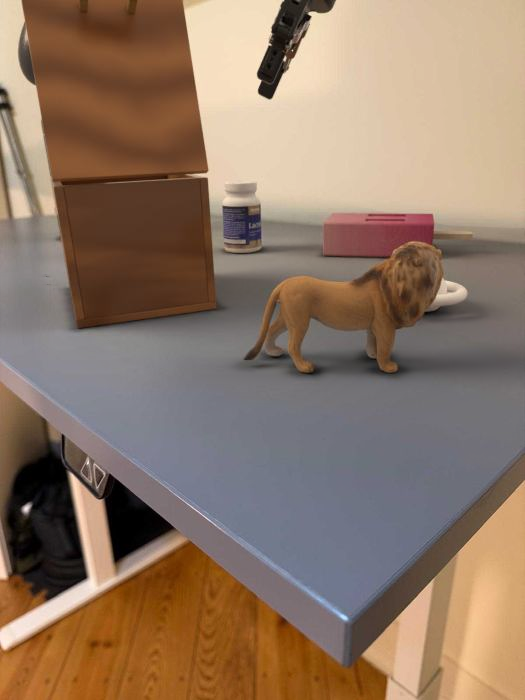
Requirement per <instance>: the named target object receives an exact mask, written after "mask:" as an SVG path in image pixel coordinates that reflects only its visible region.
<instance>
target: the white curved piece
mask: <svg viewBox="0 0 525 700" xmlns="http://www.w3.org/2000/svg"><path fill="white" fill-rule="evenodd" d="M467 297H468V290H467V289H466V287H465V286H463V285H461V284H459V283H457V282H454V281H449V280H446V279H444V276H443V277H442V281H441V285H440V289H439V291H438V293H437V296H436V299H435V300H434V302H433V303H432V304H431V305H430V306H429V308H428V309H426V310H425V312H424V313H429V312H433V311H436V310H438V309H439V308H440V307H446V306H452V305H456V304H459V303H462V302H463V301H465V300H466V299H467Z"/></svg>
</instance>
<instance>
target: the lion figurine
mask: <svg viewBox="0 0 525 700" xmlns="http://www.w3.org/2000/svg"><path fill="white" fill-rule="evenodd" d="M442 254H443V253H442V250H441V249H439V248H438V249H437V248H436V247H435V246H434V245H433V244H432V245H429V244H426V243H423V242H416V241H411V242H408V243H407V244H404V245H402V246H400V247H399V248H398V249H395V250H394V251H393V253H392V255H391V258H386V259H384V260H383V261H382V262H381V263H378V264H375V265H373V266H372V267H370V268H369V270H368V271H366V272H364V273H363V274H362V275H361V276H360V277H357V278H355V279H353V280H351V281H329V280H324V279H320V278H316V277H313V276H308V275H299V276H293V277H290V278H287V279H285V280H283V281H281V282H280V283H279V284H278V285H277V286H276V287H275V288H274V289H273V290H272V292H271V294H270V296H269V298H268V300H267V302H266V305H265V310H264V312H263V317H262V323H261V327H260V331H259V336H258V339H257V340H256V341H257V342H256V343H255V345H254V346H253V347H252V348H251V349H250V350H249V351H248V352H247V353H246V355H244V356H243V358H242V360H243V361H252V360H254V359H256V357H258V355H259V354H260V352H261V351H262V349H263V347H264V351H265V354H267V355H268V356H271V357H279V356H282V354H283V348H282V347H280V346H277V345H276V340H277V339H278V338H279V337H280V335H282V334H284V333H285V332H288V337H289V338H288V339H289V340H288V343H287V347H286V349H287V352H288V354H289V356H290V358H291V359H292V361H293V363H294V365H295V367H296V369H297V370H298V371H300V372H301V373H306V374H308V373H312V372H314V370H315V364H314V362H312V361H311V360H307V359H305V358H304V356H303V354H302V344H303V341H304V340H305V337H306V335H307V332H308V329H309V327H310V321H311V319H314V320H316V322H318V323H320V324H322V325H323V326H325V327H327V328H329V329H333V330H335V331H340V332H357V331H364V330H365V331H366V344H365V352H366V355H367V356H368V357H369V358H371V359H374V360H376V361H377V363H378V367H379V369H380V370H381V371H382V372H385V373H388V374H393V373H395V372H397V371H398V368H399V367H398V364H397V363H396V362H394V361H391V354H392V352H393V348H394V344H395V339H396V330H401V329H404V328H411V327H414V326H415V325H416V324H417V323H418V322H420V321H421V320H422V318H423V316H424V314H425V313H426V312H425V310H426V309H428V308H429V306H430V305H431V304H432V303H433V302H434V300H435V299H436V296H437V293H438V291H439V289H440V285H441V281H442V277H443V278H444V269H443V266H442V263H441V261H442V256H443V255H442ZM277 304H280V308H279V312H278V314H277V316H276V319H275V320H274V321H273V322H272V323H271V321H272V319H273V315H274V313H275V309H276V306H277Z"/></svg>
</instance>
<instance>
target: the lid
mask: <svg viewBox="0 0 525 700" xmlns="http://www.w3.org/2000/svg"><path fill="white" fill-rule="evenodd" d="M20 1H21V6H22V13H23V19H24V22H25V25H26V31H27V37H28V42H29V48H30V54H31V60H32V66H33V71H34V77H35V83H36V86H35V87H36V88H35V89H36V94H37V100H38V106H39V110H40V111H39V112H40V119H42V124H43V129H44V134H43V135H45V141H46V147H47V153H48V158H49V164H50V170H51V176H52V181H53V182H63V181H80V180H98V179H115V178H133V177H150V176H168V175H185V174H194V175H200V174H208V172H209V163H208V157H207V151H206V145H205V137H204V130H203V125H202V117H201V111H200V104H199V98H198V92H197V91H198V90H197V85H196V79H195V72H194V65H193V58H192V52H191V46H190V39H189V33H188V26H187V20H186V13H185V6H184V0H20Z"/></svg>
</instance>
